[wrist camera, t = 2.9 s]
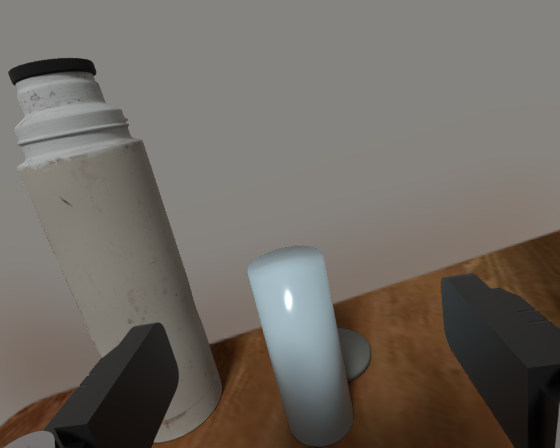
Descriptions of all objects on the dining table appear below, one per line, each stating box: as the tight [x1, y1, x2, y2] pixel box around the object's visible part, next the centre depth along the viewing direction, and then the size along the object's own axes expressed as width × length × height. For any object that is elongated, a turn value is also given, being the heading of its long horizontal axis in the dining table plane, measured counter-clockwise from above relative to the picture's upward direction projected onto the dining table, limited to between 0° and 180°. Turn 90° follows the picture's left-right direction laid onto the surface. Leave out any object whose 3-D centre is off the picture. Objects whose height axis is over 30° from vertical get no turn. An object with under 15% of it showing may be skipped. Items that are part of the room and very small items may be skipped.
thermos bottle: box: [9, 58, 222, 443], centre depth 27 cm, size 8×8×28 cm
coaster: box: [337, 328, 371, 382], centre depth 32 cm, size 7×7×1 cm
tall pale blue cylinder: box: [247, 246, 354, 447], centre depth 25 cm, size 5×5×13 cm
